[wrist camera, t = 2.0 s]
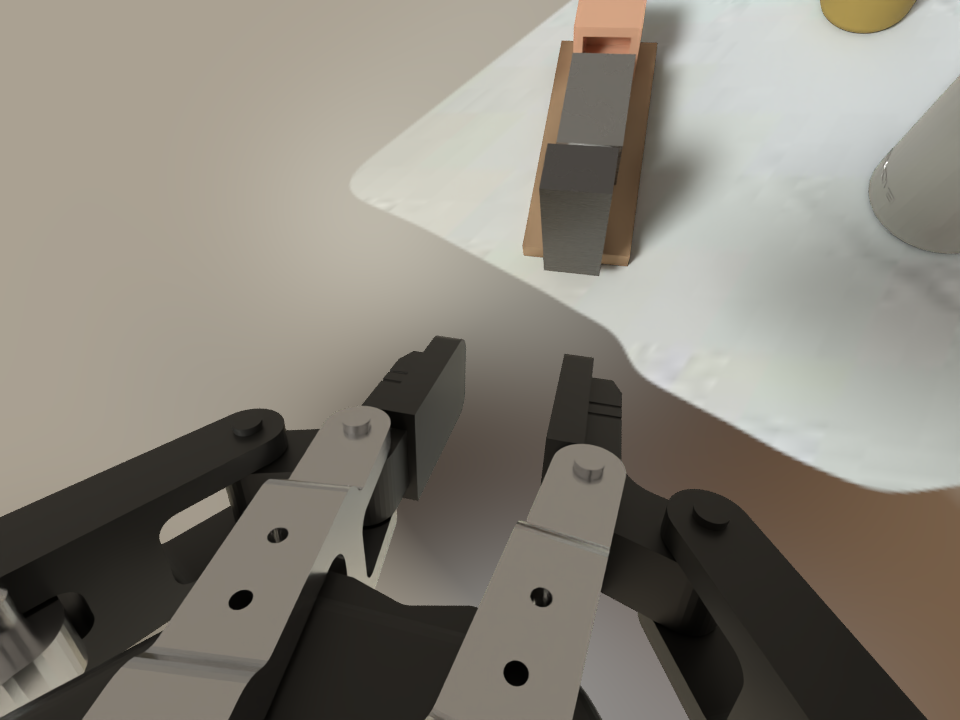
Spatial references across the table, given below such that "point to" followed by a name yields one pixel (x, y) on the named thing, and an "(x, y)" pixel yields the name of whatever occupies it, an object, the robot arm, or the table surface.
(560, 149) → the brushed grey metal block
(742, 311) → the table surface
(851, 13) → the bark covered log
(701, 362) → the table surface
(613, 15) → the socket
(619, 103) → the outer sleeve
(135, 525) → the robot arm
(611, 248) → the guide board
